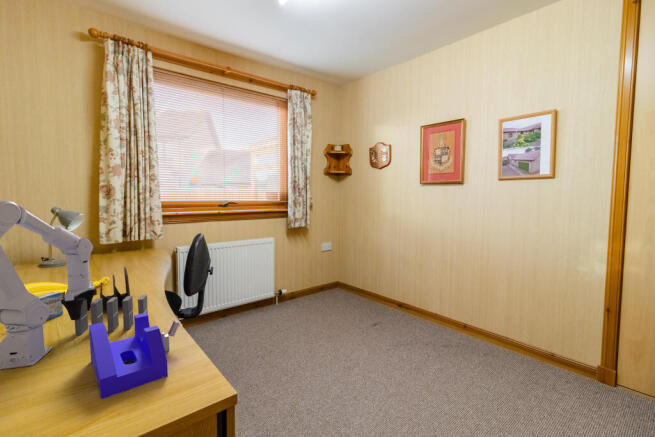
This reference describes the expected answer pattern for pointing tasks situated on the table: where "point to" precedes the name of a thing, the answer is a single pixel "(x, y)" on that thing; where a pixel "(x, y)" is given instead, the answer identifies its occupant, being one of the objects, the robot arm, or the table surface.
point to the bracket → (127, 357)
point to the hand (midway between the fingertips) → (80, 315)
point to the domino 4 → (127, 312)
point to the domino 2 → (96, 311)
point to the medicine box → (53, 303)
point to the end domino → (142, 304)
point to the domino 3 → (112, 314)
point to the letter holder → (115, 293)
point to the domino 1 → (82, 320)
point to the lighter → (171, 333)
